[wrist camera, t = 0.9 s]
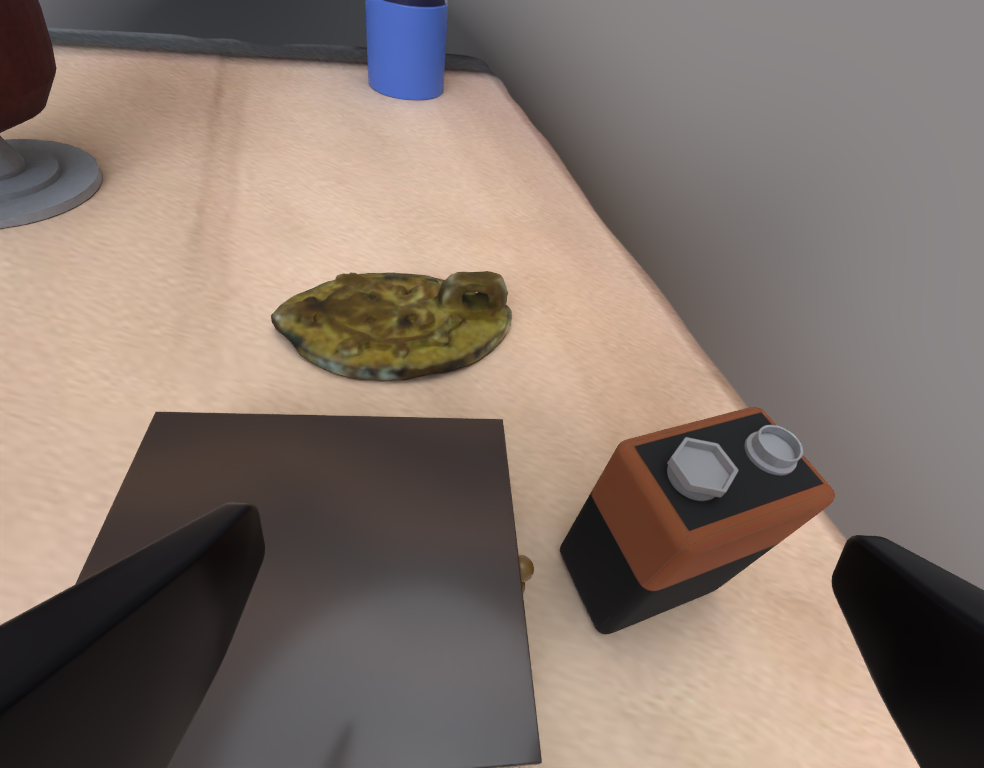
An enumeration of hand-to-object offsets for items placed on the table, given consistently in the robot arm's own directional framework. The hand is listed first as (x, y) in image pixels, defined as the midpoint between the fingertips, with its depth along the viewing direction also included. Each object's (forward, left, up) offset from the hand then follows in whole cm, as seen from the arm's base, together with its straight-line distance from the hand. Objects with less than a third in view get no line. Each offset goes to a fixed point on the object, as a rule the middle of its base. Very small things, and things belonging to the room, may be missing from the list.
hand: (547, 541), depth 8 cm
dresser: (+4, +5, -15) cm, 17 cm away
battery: (+5, -9, -15) cm, 18 cm away
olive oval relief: (+21, +3, -15) cm, 26 cm away
